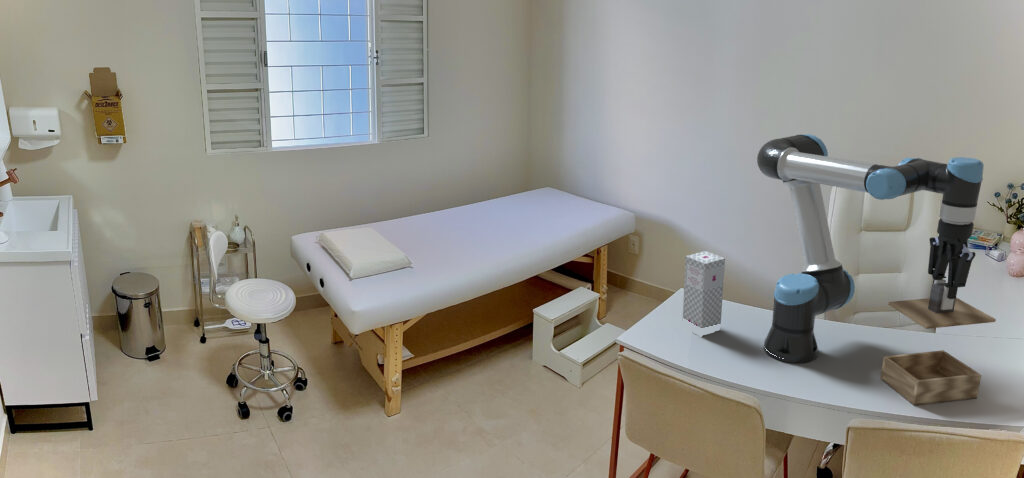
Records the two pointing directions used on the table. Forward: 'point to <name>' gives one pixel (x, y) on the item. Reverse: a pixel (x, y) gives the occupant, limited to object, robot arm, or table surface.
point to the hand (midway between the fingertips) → (941, 305)
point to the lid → (940, 311)
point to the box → (703, 289)
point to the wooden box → (930, 377)
